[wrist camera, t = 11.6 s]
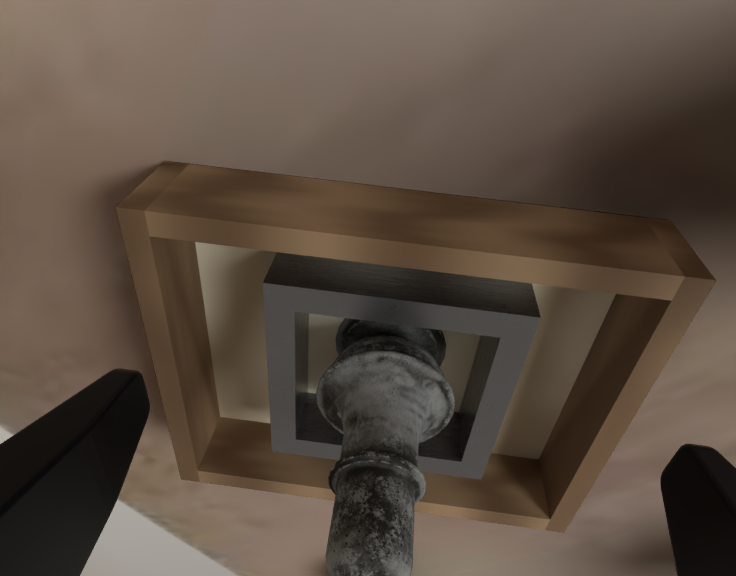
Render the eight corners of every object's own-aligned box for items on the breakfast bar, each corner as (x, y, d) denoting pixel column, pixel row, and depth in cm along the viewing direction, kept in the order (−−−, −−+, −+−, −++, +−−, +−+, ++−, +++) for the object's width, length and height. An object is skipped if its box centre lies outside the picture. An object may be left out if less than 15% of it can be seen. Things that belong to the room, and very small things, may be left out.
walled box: (670, 220, 20) (716, 280, 17) (549, 464, 29) (564, 532, 26) (165, 160, 21) (115, 207, 17) (207, 418, 30) (181, 479, 27)
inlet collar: (528, 271, 21) (540, 317, 19) (476, 429, 28) (481, 479, 25) (281, 241, 22) (262, 282, 19) (285, 404, 28) (271, 451, 25)
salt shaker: (475, 325, 23) (504, 618, 14) (419, 402, 27) (411, 679, 17) (355, 278, 22) (296, 556, 13) (313, 364, 26) (242, 634, 16)
